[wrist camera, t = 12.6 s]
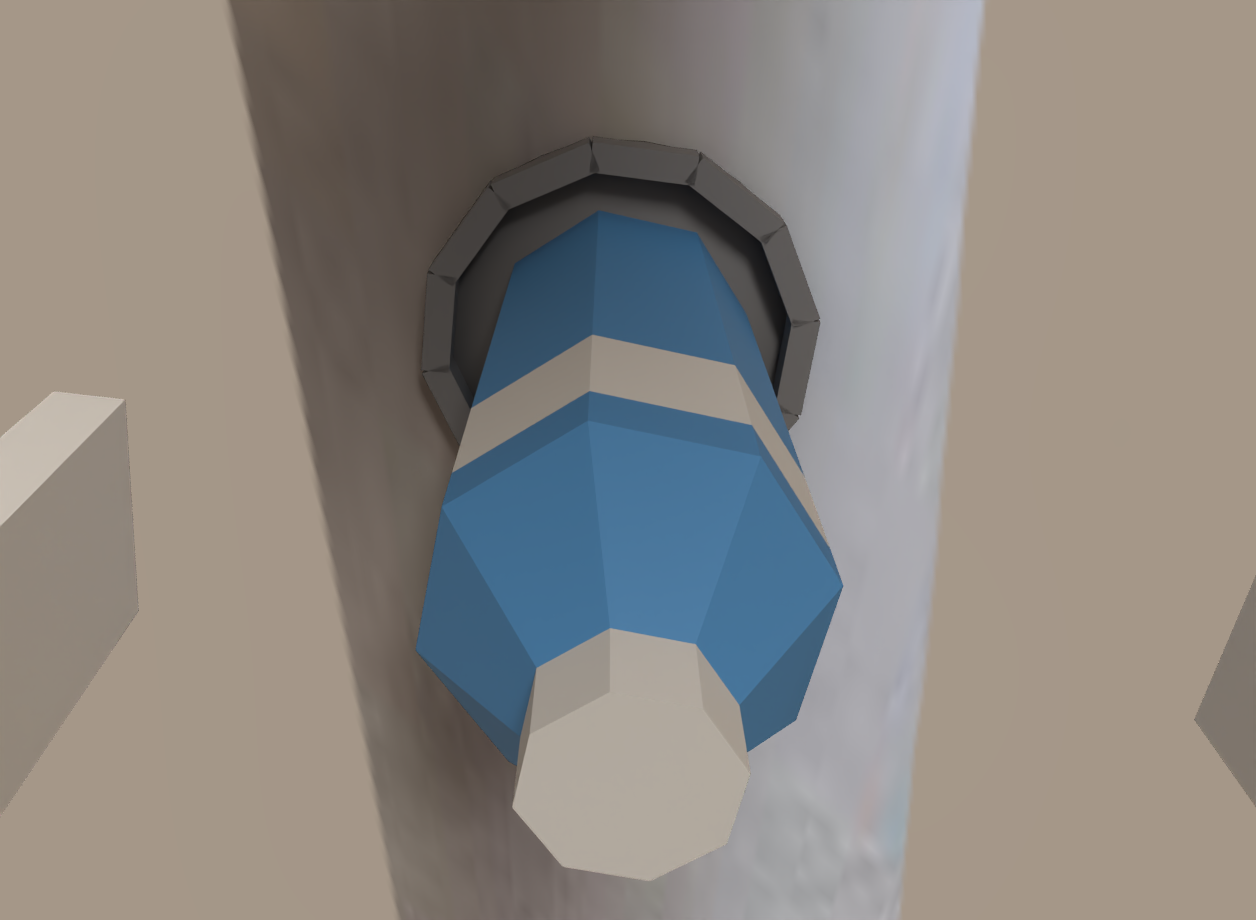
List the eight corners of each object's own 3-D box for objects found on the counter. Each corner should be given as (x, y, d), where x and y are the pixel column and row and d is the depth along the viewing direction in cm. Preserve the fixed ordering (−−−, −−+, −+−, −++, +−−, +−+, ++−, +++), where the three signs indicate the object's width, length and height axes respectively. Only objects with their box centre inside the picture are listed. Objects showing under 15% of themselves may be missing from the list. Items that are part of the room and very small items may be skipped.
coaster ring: (443, 114, 40) (437, 121, 38) (842, 167, 41) (850, 176, 39) (419, 480, 45) (413, 497, 44) (770, 519, 46) (775, 538, 45)
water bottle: (522, 468, 45) (429, 1016, 22) (469, 232, 41) (289, 600, 18) (761, 430, 44) (919, 951, 22) (729, 187, 40) (880, 508, 18)
